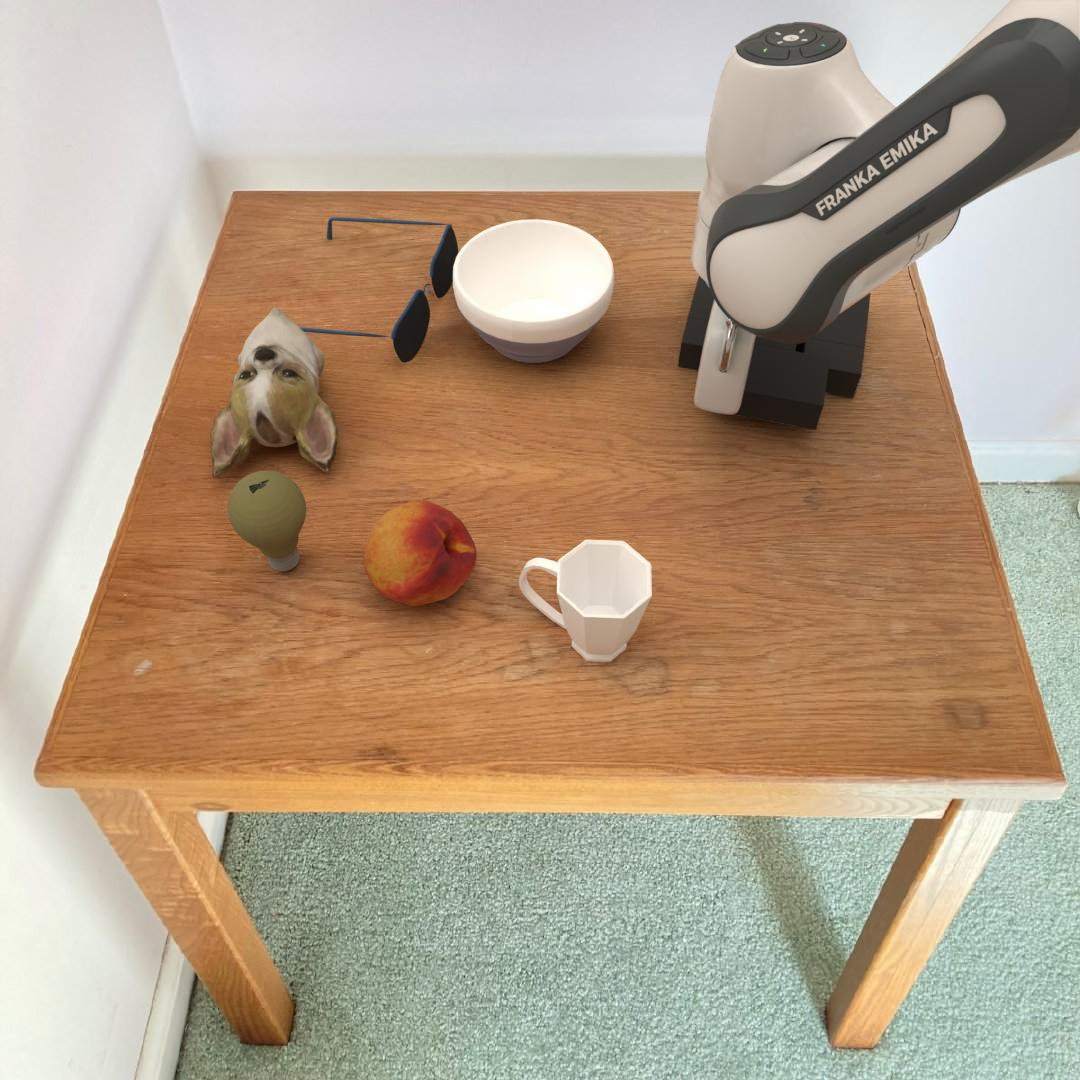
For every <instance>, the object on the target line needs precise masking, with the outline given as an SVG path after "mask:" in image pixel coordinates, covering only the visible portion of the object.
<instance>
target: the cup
mask: <svg viewBox="0 0 1080 1080" xmlns="http://www.w3.org/2000/svg"><path fill="white" fill-rule="evenodd" d="M534 569H536V570H542V571H544V572H546V573H548V574H550V575H552V576H554V577H556V578H557V579H556V595H557V600H558V604H559V607H560V611H561V612H559V611H558V610H556V609H555V608H554V607H553V606H552V605H551V604H550V603H549V602H547V601H546V600H545V599H543V598H542V597H541V596H540V595H539V594H538V593H537V592H536V591H535V590H534V589H533V588H532V587H531V585H530V583H529V580H528V578H527V575H528V572H529V571H532V570H534ZM518 586H519V589H520V591H521V593H522V595H523V596H524V597H525V598H526V599H527V601H529V603H530V604H532V606H534V607H535V608H536V609H537V610H539V612H541V613H542V614H543V615H545V616H546V617H547V618H548V619H549V620H551V621H552V622H553V623H555V624H557V625H558V626H559V627H561V628H562V629H565V630H566V631H567V634H568V636H569V638H570V640H571V648H573V649H574V650H575V652H576V653H578V654H579V655H580V656H581V657H582V658H583V659H584V660H585V661H586V662H600V663H611V662H612V661H613V660H615V659H616V658H617V657H618V656H619V655H621V654H622V653H623V652H624V651H626V650H627V643H628V642H629V641H630V639H631V638H632V637H633V636H634V635H635V632H636V631H637V630H638V629H639V625H640V623H641V621H642V619H643V616H644V614H645V612H646V610H647V607H648V605H649V603H650V601H651V599H652V596H653V592H652V590H653V589H652V588H653V586H652V563H651V562H650V561H649V560H647V559H646V558H645V557H643V556H642V554H640V553H639V552H638V551H636V549H635V548H633V547H632V546H631V545H629V544H628V543H627V542H626V541H624V540H613V539H610V540H609V539H608V540H607V539H584V540H583V541H582V542H581V543H579V544H578V545H577V546H575V547H573V549H571V550H570V551H568V552H567V553H566V554H565V555H563V556H562V557H560V558H559V559H558V560H557V561H554V560H552V559H548V558H545V557H535V558H532V559H529V560H527V561H526V564H525V565H524V566H523V568H522V570H521V573H520V574H519V577H518Z"/></svg>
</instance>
